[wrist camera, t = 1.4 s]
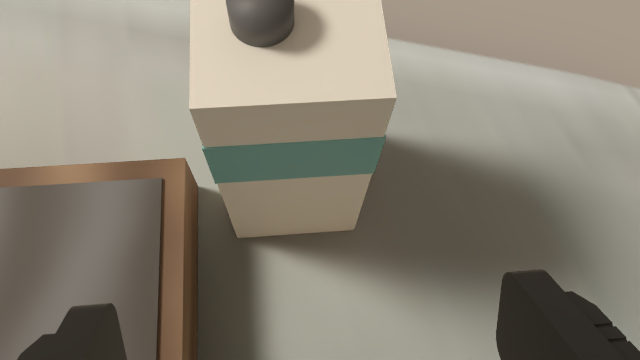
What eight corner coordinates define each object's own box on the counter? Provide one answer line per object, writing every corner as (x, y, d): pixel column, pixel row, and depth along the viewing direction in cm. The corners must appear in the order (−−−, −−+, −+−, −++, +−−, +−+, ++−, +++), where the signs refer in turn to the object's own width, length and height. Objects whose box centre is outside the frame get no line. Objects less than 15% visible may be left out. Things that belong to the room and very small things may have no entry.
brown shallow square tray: (197, 186, 28) (184, 156, 25) (196, 543, 22) (178, 568, 19) (-121, 206, 27) (-180, 178, 24) (-214, 587, 21) (-311, 622, 18)
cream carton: (343, 126, 30) (377, -83, 17) (355, 230, 28) (404, 80, 15) (233, 132, 30) (183, -77, 17) (236, 239, 27) (180, 91, 14)
